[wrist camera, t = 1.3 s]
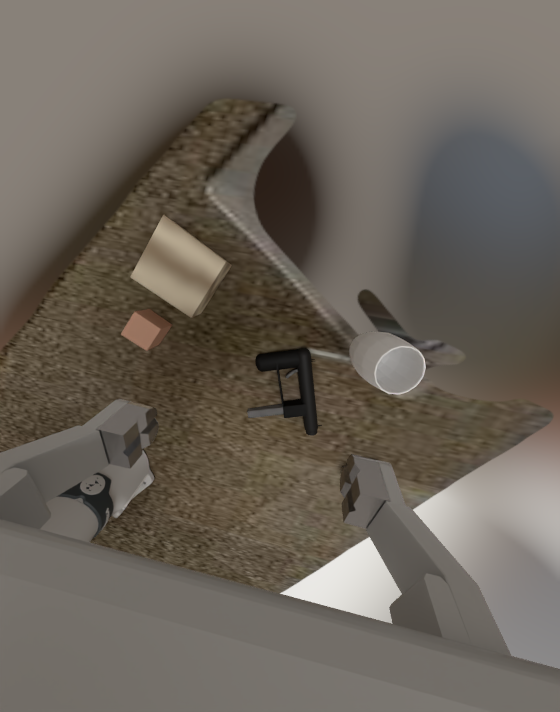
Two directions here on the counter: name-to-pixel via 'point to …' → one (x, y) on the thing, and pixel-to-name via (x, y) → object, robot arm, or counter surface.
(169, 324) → the terracotta block
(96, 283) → the counter surface
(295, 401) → the black clamp
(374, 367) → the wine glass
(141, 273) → the birch box
